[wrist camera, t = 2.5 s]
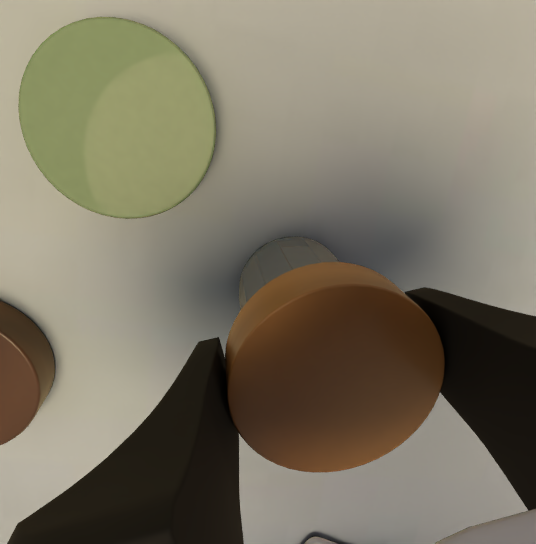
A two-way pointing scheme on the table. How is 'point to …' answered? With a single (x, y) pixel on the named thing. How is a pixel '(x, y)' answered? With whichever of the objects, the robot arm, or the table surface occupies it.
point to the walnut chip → (22, 371)
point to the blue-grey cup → (279, 262)
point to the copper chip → (331, 368)
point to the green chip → (117, 117)
